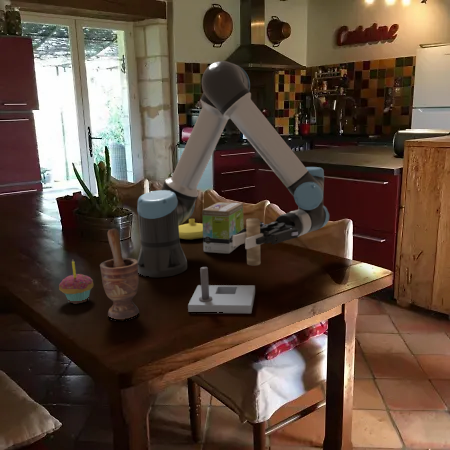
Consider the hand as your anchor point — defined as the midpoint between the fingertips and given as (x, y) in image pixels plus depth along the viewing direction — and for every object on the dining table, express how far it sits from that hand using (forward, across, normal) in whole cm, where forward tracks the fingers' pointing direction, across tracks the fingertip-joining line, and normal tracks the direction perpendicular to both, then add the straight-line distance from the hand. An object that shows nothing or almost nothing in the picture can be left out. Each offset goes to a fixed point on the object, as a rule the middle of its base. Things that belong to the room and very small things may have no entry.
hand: (240, 242), depth 123 cm
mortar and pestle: (+28, +14, -14) cm, 34 cm away
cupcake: (+30, +30, -14) cm, 45 cm away
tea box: (-28, +32, -14) cm, 45 cm away
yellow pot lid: (-32, +51, -14) cm, 62 cm away
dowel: (-5, 0, -7) cm, 9 cm away
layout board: (+8, -1, -13) cm, 16 cm away
